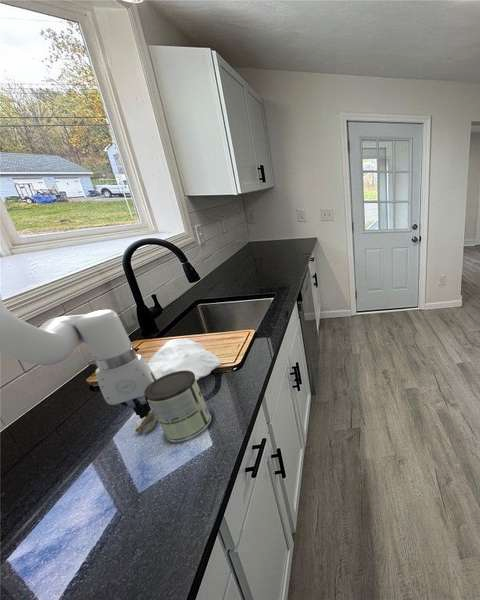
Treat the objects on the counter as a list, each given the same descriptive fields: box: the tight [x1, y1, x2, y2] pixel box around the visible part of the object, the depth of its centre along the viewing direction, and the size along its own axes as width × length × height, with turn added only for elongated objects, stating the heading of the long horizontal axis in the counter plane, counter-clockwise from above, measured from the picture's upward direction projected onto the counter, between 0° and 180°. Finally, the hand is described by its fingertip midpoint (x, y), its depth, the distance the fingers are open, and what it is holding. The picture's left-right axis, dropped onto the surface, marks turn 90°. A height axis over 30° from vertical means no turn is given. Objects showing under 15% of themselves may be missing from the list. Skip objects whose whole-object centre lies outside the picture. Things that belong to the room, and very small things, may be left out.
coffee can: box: [144, 370, 212, 443], centre depth 79 cm, size 10×10×14 cm
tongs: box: [134, 410, 158, 434], centre depth 86 cm, size 4×13×2 cm, turn 16°
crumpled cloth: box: [147, 338, 222, 382], centre depth 102 cm, size 24×35×9 cm
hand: (145, 414), depth 85 cm, fingers closed
